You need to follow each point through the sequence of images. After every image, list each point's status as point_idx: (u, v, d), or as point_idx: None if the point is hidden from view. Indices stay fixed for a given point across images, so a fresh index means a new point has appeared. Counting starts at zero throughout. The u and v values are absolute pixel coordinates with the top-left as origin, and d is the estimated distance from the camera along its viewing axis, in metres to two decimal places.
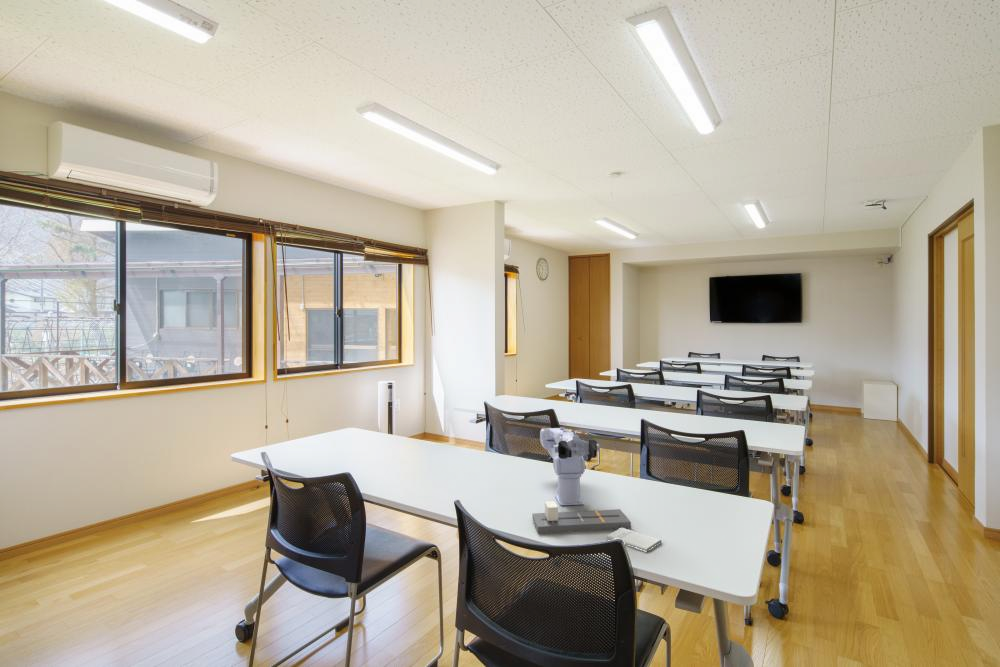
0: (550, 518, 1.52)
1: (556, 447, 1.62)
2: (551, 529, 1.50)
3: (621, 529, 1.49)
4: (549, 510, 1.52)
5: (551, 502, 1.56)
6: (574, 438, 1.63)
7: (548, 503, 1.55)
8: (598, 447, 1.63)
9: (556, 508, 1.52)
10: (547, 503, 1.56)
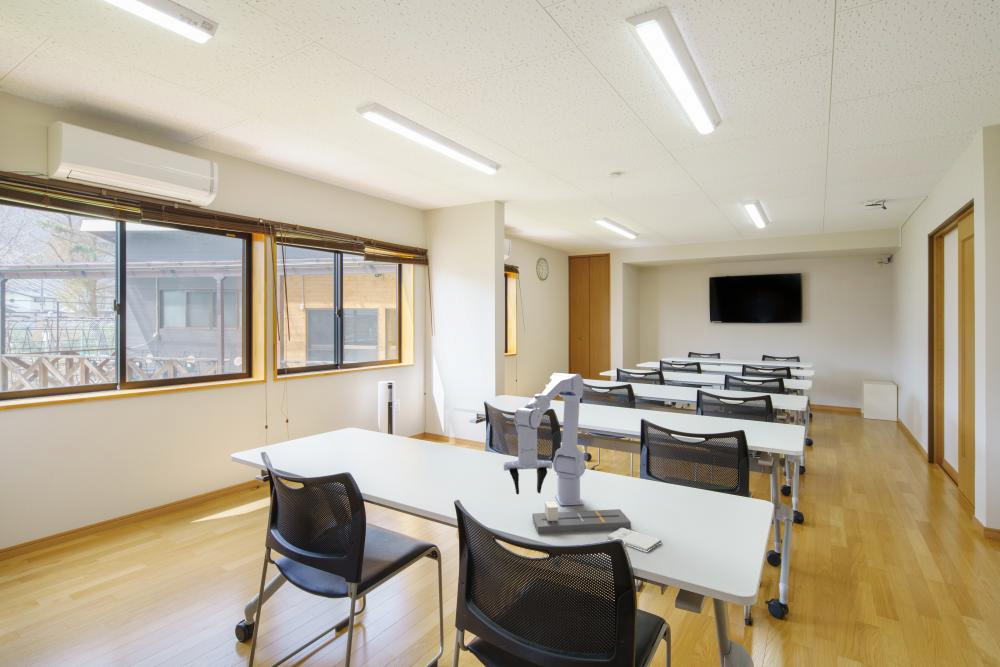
0: (550, 518, 1.52)
1: None
2: (551, 529, 1.50)
3: (621, 529, 1.49)
4: (549, 510, 1.52)
5: (551, 502, 1.56)
6: None
7: (548, 503, 1.55)
8: None
9: (556, 508, 1.52)
10: (547, 503, 1.56)
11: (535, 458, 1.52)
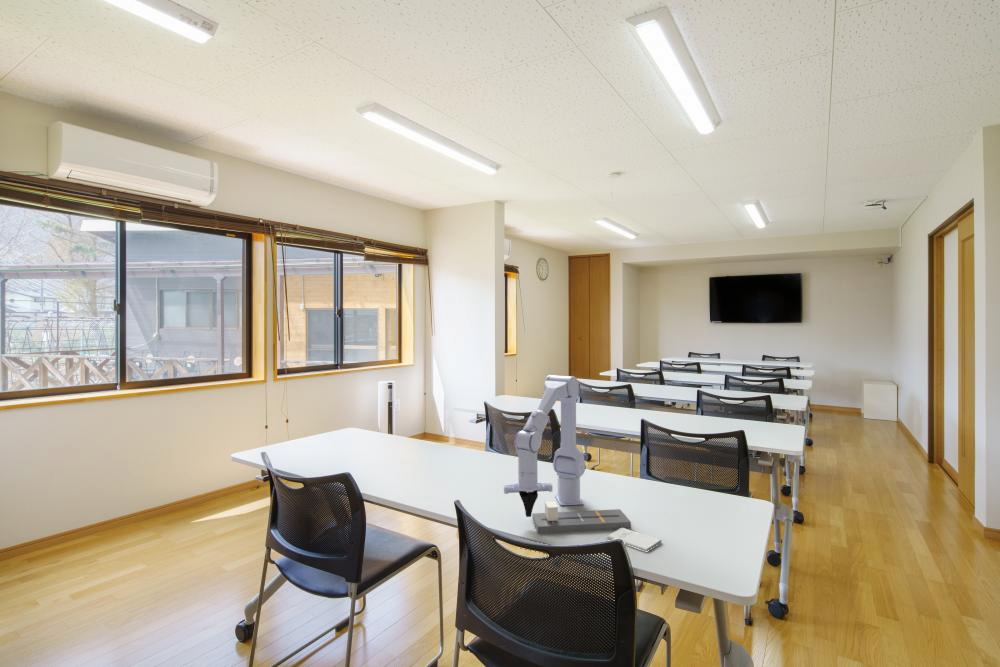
0: (550, 518, 1.52)
1: None
2: (551, 529, 1.50)
3: (621, 529, 1.49)
4: (549, 510, 1.52)
5: (551, 502, 1.56)
6: None
7: (548, 503, 1.55)
8: None
9: (556, 508, 1.52)
10: (547, 503, 1.56)
11: (535, 481, 1.52)
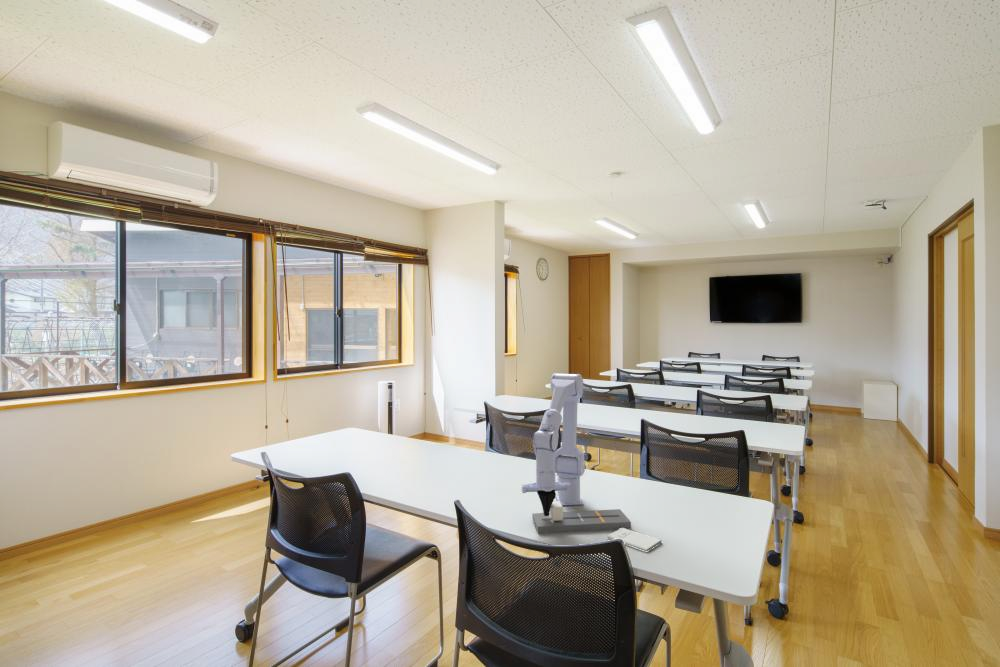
0: (555, 518, 1.52)
1: None
2: (551, 529, 1.50)
3: (621, 529, 1.49)
4: (554, 510, 1.52)
5: (556, 502, 1.56)
6: (546, 490, 1.51)
7: (553, 503, 1.55)
8: None
9: (561, 508, 1.52)
10: None
11: (553, 481, 1.53)
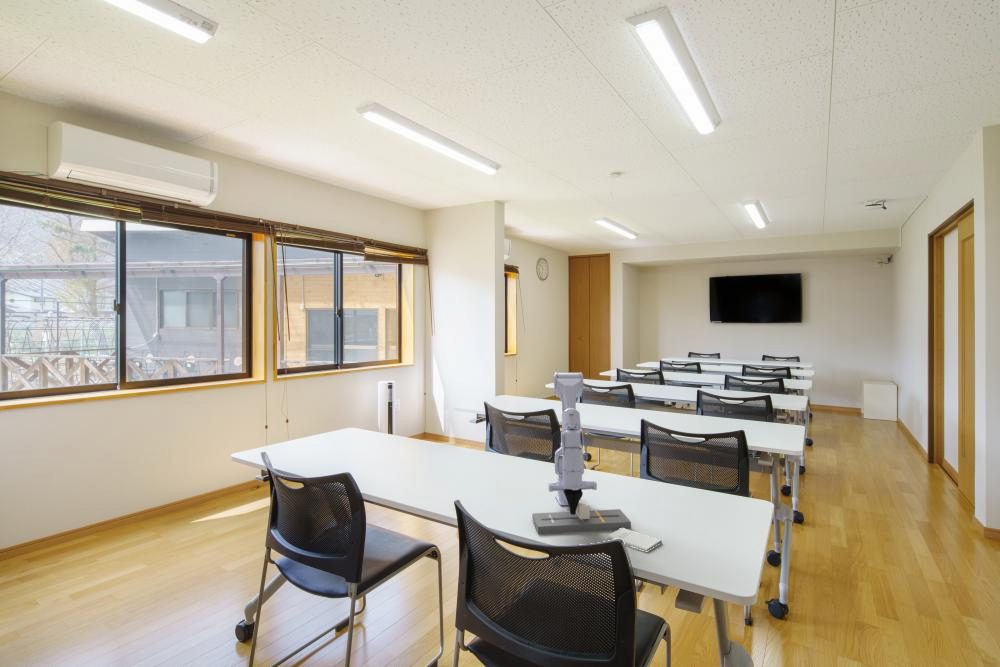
0: (582, 516, 1.53)
1: None
2: (551, 529, 1.50)
3: (622, 529, 1.49)
4: (581, 508, 1.53)
5: (582, 501, 1.57)
6: None
7: (579, 502, 1.56)
8: None
9: (588, 506, 1.53)
10: None
11: (580, 479, 1.53)
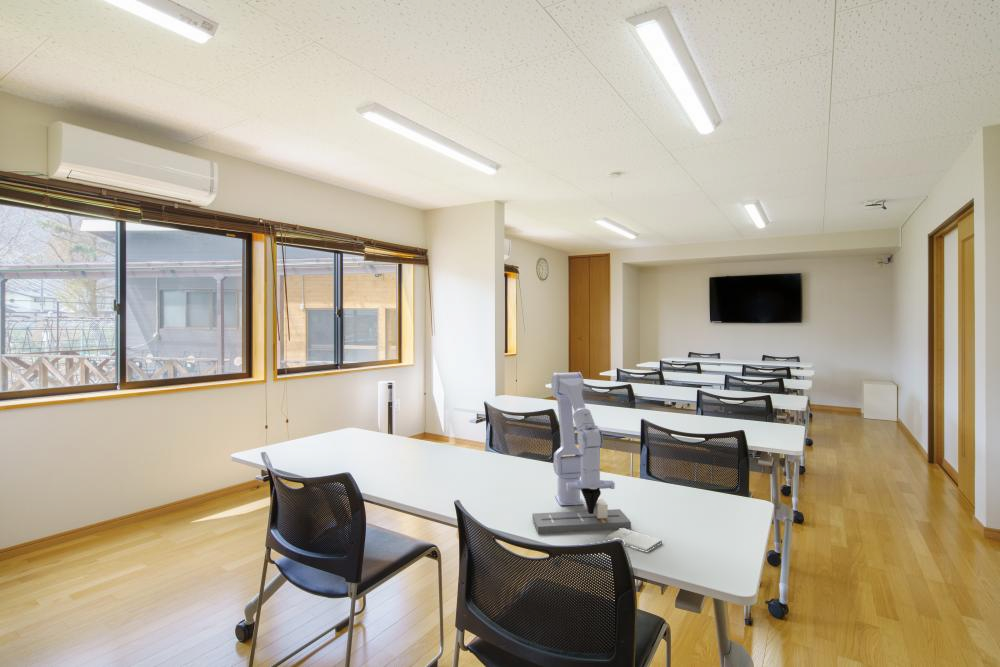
0: (600, 515, 1.54)
1: None
2: (551, 529, 1.50)
3: (622, 529, 1.49)
4: (599, 508, 1.54)
5: (600, 500, 1.58)
6: (591, 488, 1.52)
7: (597, 501, 1.57)
8: None
9: (606, 506, 1.54)
10: None
11: (598, 479, 1.54)
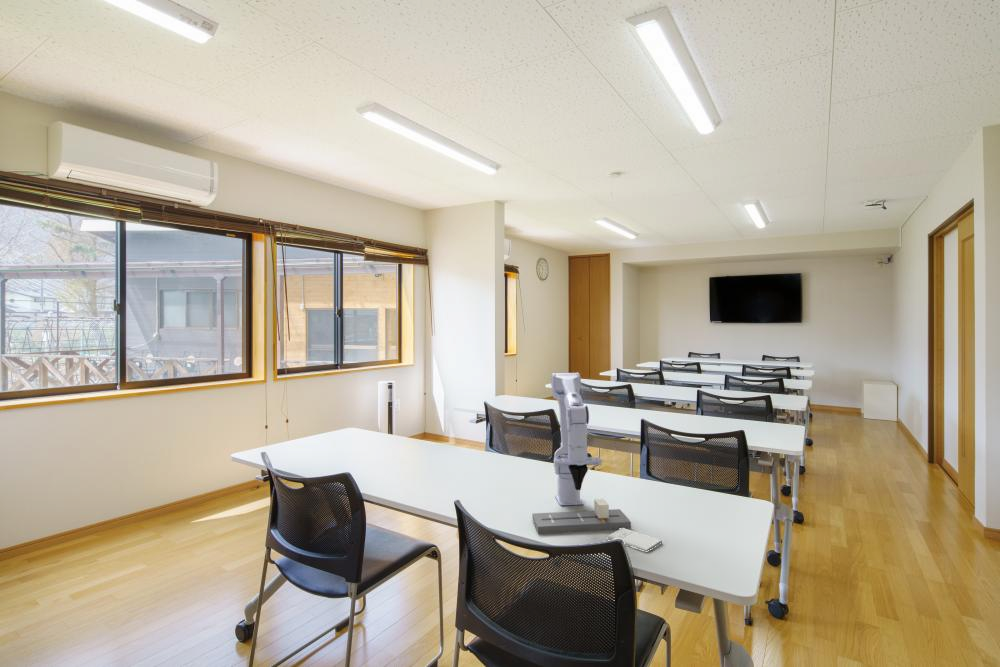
0: (601, 515, 1.54)
1: None
2: (551, 529, 1.50)
3: (622, 529, 1.49)
4: (600, 507, 1.54)
5: (601, 500, 1.58)
6: (578, 464, 1.53)
7: (598, 501, 1.57)
8: None
9: (607, 506, 1.54)
10: (596, 500, 1.57)
11: (585, 455, 1.55)
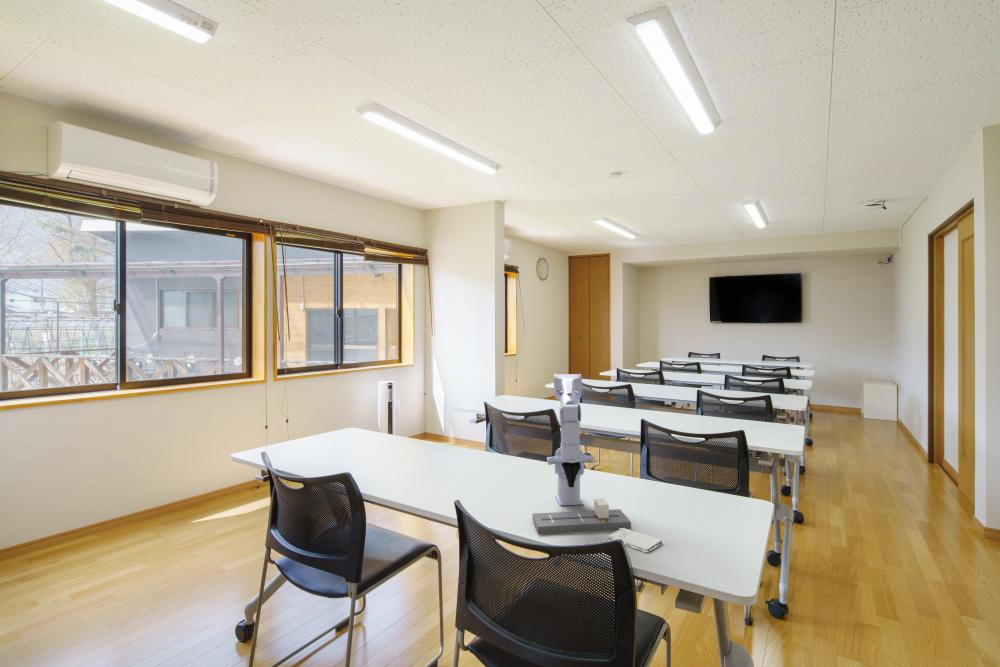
0: (601, 515, 1.54)
1: None
2: (551, 529, 1.50)
3: (622, 529, 1.49)
4: (600, 507, 1.54)
5: (601, 500, 1.58)
6: None
7: (598, 501, 1.57)
8: None
9: (607, 506, 1.54)
10: (596, 500, 1.57)
11: (578, 453, 1.57)
